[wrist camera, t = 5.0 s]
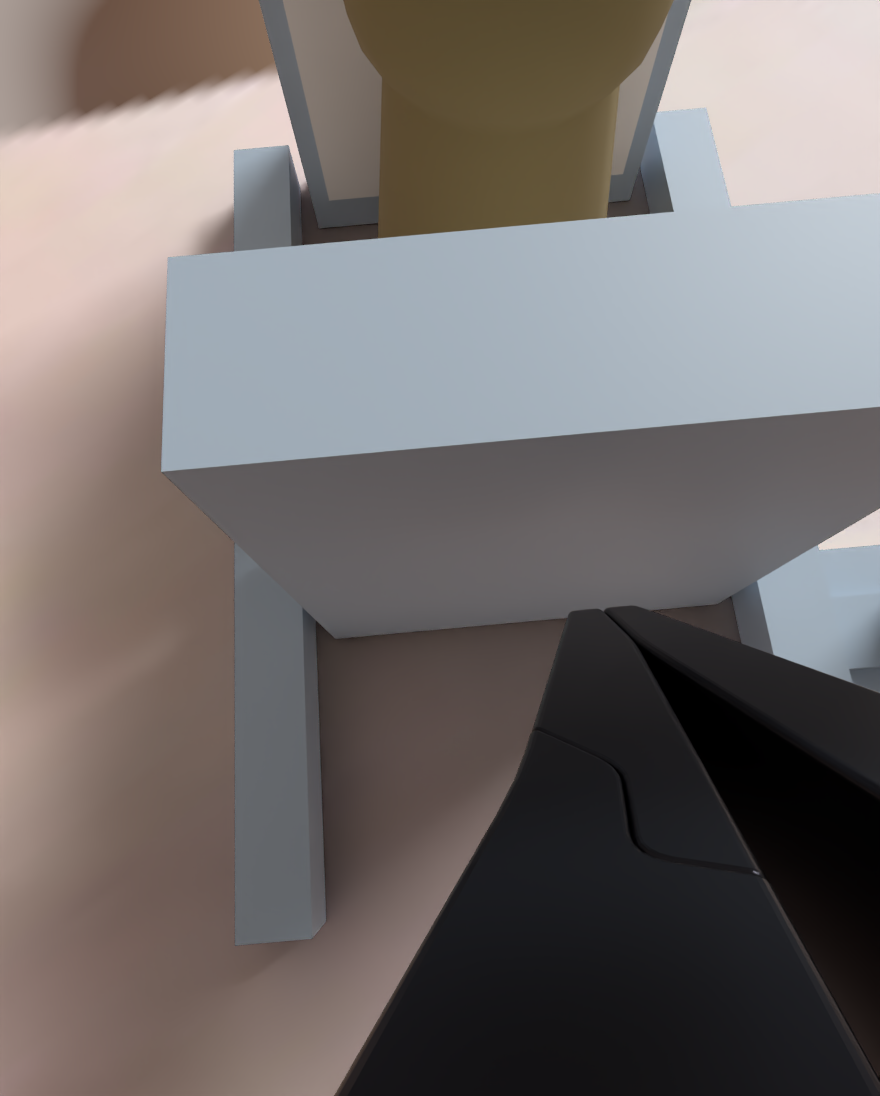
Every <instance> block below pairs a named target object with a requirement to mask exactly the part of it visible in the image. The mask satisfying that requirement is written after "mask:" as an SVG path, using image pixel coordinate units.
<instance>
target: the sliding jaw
mask: <svg viewBox="0 0 880 1096" xmlns="http://www.w3.org/2000/svg"><path fill="white" fill-rule="evenodd" d="M161 472H162V473H163V474H164V475H165V476H166V477H167V478H168V479H169V480H170V481H171V482H172V483H173V484H174V485H176V486H177V487H178V488H179V489H180V490H181V491H182V492H183V493H184V494H185V495H186V496H187V497H188V498H189V499H190V500H191V501H192V502H193V503H194V504H195V505H196V506H197V507H198V508H199V509H201V510H202V511H203V512H204V513H205V514H206V515H207V516H208V517H209V518H210V519H211V520H212V521H213V522H214V523H215V524H216V525H217V526H218V527H219V528H220V529H221V530H222V531H223V532H224V533H226V534H227V535H228V536H229V537H230V538H231V539H232V540H233V541H234V542H235V543H236V544H237V545H238V546H239V547H240V548H241V549H242V550H243V551H244V552H245V553H246V554H247V555H248V556H249V557H251V558H252V559H253V560H254V561H255V562H256V563H257V564H258V565H259V566H260V567H261V568H262V569H263V570H264V571H265V572H266V573H267V574H268V575H269V576H270V577H271V578H272V579H273V580H275V581H276V582H277V583H278V584H279V585H280V586H281V587H282V588H283V589H284V590H285V591H286V592H287V593H288V594H289V595H290V596H291V597H292V598H293V599H294V600H295V601H296V602H297V603H298V604H300V605H301V606H302V607H303V608H304V609H305V610H306V611H307V612H308V613H309V614H310V615H311V616H312V617H313V618H314V619H315V620H316V621H317V622H318V623H319V624H320V625H321V626H322V627H323V628H325V629H326V630H327V631H328V632H329V633H330V634H331V635H332V636H333V637H334V638H335V639H339V638H350V637H361V636H372V635H383V634H394V633H406V632H417V631H428V630H439V629H450V628H461V627H472V626H483V625H494V624H505V623H516V622H527V621H538V620H549V619H560V618H567V617H568V614H569V613H570V612H571V611H574V610H585V609H596V608H597V609H600V610H602V611H604V610H605V609H606V608H609V607H618V606H629V605H633V606H638V607H641V608H644V609H647V610H660V609H671V608H682V607H693V606H704V605H715V604H718V603H720V602H722V601H724V600H725V599H727V598H729V597H730V596H732V595H734V594H735V593H737V592H739V591H740V590H742V589H744V588H746V587H747V586H749V585H751V584H752V583H754V582H756V581H757V580H759V579H761V578H762V577H764V576H766V575H768V574H769V573H771V572H773V571H774V570H776V569H778V568H779V567H781V566H783V565H784V564H786V563H788V562H790V561H791V560H793V559H795V558H796V557H798V556H800V555H801V554H803V553H805V552H806V551H808V550H810V549H812V548H813V547H815V546H817V545H818V544H820V543H822V542H823V541H825V540H827V539H828V538H830V537H832V536H834V535H835V534H837V533H839V532H840V531H842V530H844V529H845V528H847V527H849V526H850V525H852V524H854V523H856V522H857V521H859V520H861V519H862V518H864V517H866V516H867V515H869V514H871V513H872V512H874V511H876V510H878V509H879V508H880V193H877V194H866V195H854V196H843V197H832V198H821V199H810V200H799V201H788V202H777V203H766V204H755V205H744V206H732V207H721V208H710V209H699V210H688V211H677V212H666V213H655V214H644V215H633V216H622V217H611V218H599V219H588V220H577V221H566V222H555V223H544V224H533V225H522V226H511V227H500V228H489V229H478V230H466V231H455V232H444V233H433V234H422V235H411V236H400V237H389V238H378V239H367V240H356V241H344V242H333V243H322V244H311V245H300V246H289V247H278V248H267V249H256V250H245V251H234V252H223V253H211V254H200V255H189V256H178V257H168V269H167V301H166V333H165V364H164V396H163V428H162V459H161Z"/></svg>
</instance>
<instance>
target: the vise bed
mask: <svg viewBox="0 0 880 1096" xmlns="http://www.w3.org/2000/svg"><path fill="white" fill-rule="evenodd" d="M690 2H691V0H674V1H673V3H672V6H671V8H670V10H669V12H668V14H667V17H666V19H665V21H664V23H663V25H662V27H661V29H660V31H659V33H658V35H657V37H656V38H655V40H654V42H653V44H652V46H651V47H650V49H649V51H648V53H647V55H646V56H645V58H644V60H643V62H642V64H641V65H640V66H639V67H638V68H637V69H636V70H635V71H634V72H632V73H631V74H630V75H629V76H628V77H627V78H626V79H625V80H624V81H623V82H622V83H621V84H620V89H619V99H618V109H617V119H616V129H615V139H614V149H613V159H612V170H611V180H610V190H609V200H608V202H617V201H628V200H630V197H631V194H632V191H633V188H634V184H635V181H636V178H637V175H638V171H639V168H640V169H641V174H642V178H643V183H644V188H645V192H646V197H647V202H648V206H649V211H650V214H655V213H666V212H677V211H688V210H699V209H710V208H721V207H731V203H730V199H729V196H728V192H727V188H726V184H725V180H724V176H723V172H722V168H721V164H720V160H719V156H718V152H717V149H716V145H715V141H714V137H713V133H712V129H711V125H710V121H709V117H708V113H707V109H706V108H697V109H686V110H675V111H664V112H657V110H658V106H659V103H660V100H661V97H662V93H663V90H664V87H665V84H666V80H667V77H668V74H669V71H670V67H671V64H672V61H673V58H674V54H675V51H676V48H677V45H678V41H679V38H680V35H681V32H682V28H683V25H684V22H685V19H686V15H687V12H688V9H689V6H690ZM259 3H260V6H261V10H262V14H263V18H264V21H265V25H266V29H267V33H268V37H269V41H270V44H271V48H272V52H273V55H274V60H275V63H276V67H277V71H278V75H279V78H280V82H281V86H282V90H283V94H284V97H285V101H286V105H287V109H288V113H289V116H290V120H291V124H292V128H293V132H294V135H295V139H296V143H297V147H298V151H299V154H300V158H301V162H302V166H303V169H304V173H305V177H306V181H307V185H308V188H309V192H310V196H311V200H312V204H313V207H314V211H315V215H316V219H317V223H318V226H319V228H329V227H340V226H351V225H362V224H373V223H378V218H379V178H380V138H381V98H382V77H381V76H380V74H379V73H378V72H377V70H376V69H375V68H374V66H373V65H372V64H371V62H370V61H369V60H368V58H367V57H366V56H365V54H364V53H363V52H362V50H361V48H360V45H359V43H358V40H357V38H356V36H355V33H354V31H353V28H352V26H351V23H350V21H349V18H348V16H347V13H346V9H345V5H344V1H343V0H259ZM300 245H302V222H301V194H300V185H299V182H298V178H297V174H296V171H295V167H294V164H293V160H292V156H291V153H290V149H289V146H288V145H286V146H275V147H264V148H253V149H242V150H234V251H245V250H256V249H267V248H278V247H289V246H300ZM732 601H733V606H734V610H735V615H736V620H737V625H738V629H739V634H740V639H741V643H742V644H745V645H748V646H750V647H753V648H756V649H759V650H762V651H765V652H767V653H770V654H773V655H776V656H779V657H781V658H784V659H787V660H790V661H793V662H795V663H798V664H801V665H804V666H807V667H809V668H812V669H815V670H818V671H821V672H823V673H826V674H829V675H832V676H835V677H837V678H840V679H843V680H846V681H849V682H851V683H854V684H857V685H860V686H863V687H865V688H868V689H871V690H874V691H877V692H879V693H880V545H873V546H862V547H851V548H840V549H829V550H819V548H818V545H817V546H815V547H813V548H812V549H810V550H808V551H806V552H805V553H803V554H801V555H800V556H798V557H796V558H795V559H793V560H791V561H790V562H788V563H786V564H784V565H783V566H781V567H779V568H778V569H776V570H774V571H773V572H771V573H769V574H768V575H766V576H764V577H762V578H761V579H759V580H757V581H756V582H754V583H752V584H751V585H749V586H747V587H746V588H744V589H742V590H740V591H739V592H737V593H735V594H734V595H732ZM234 612H235V946H238V945H249V944H260V943H271V942H282V941H293V940H304V939H312V938H313V937H314V936H315V935H316V933H317V932H318V931H319V930H320V928H321V927H322V926H323V925H324V923H325V922H326V898H325V870H324V842H323V814H322V785H321V757H320V729H319V701H318V673H317V645H316V620H315V619H314V618H313V617H312V616H311V615H310V614H309V613H308V612H307V611H306V610H305V609H304V608H303V607H302V606H301V605H300V604H298V603H297V602H296V601H295V600H294V599H293V598H292V597H291V596H290V595H289V594H288V593H287V592H286V591H285V590H284V589H283V588H282V587H281V586H280V585H279V584H278V583H277V582H276V581H275V580H273V579H272V578H271V577H270V576H269V575H268V574H267V573H266V572H265V571H264V570H263V569H262V568H261V567H260V566H259V565H258V564H257V563H256V562H255V561H254V560H253V559H252V558H251V557H249V556H248V555H247V554H246V553H245V552H244V551H243V550H242V549H241V548H240V547H239V546H238V545H237V544H236V543H235V542H234Z"/></svg>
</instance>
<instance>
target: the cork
mask: <svg viewBox="0 0 880 1096" xmlns="http://www.w3.org/2000/svg"><path fill="white" fill-rule="evenodd" d="M343 1H344V5H345V9H346V13H347V16H348V18H349V21H350V23H351V26H352V28H353V31H354V33H355V36H356V38H357V40H358V43H359V45H360V48H361V50H362V52H363V53H364V54H365V56H366V57H367V58H368V60H369V61H370V62H371V64H372V65H373V66H374V68H375V69H376V70H377V72H378V73H379V74H380V76H381V77H382V98H381V138H380V178H379V218H378V238H389V237H400V236H411V235H422V234H433V233H444V232H455V231H466V230H478V229H489V228H500V227H511V226H522V225H533V224H544V223H555V222H566V221H577V220H588V219H599V218H607V210H608V200H609V190H610V180H611V170H612V159H613V149H614V139H615V129H616V119H617V109H618V99H619V89H620V84H621V83H622V82H623V81H624V80H625V79H626V78H627V77H628V76H629V75H630V74H631V73H632V72H634V71H635V70H636V69H637V68H638V67H639V66H640V65H641V64H642V62H643V60H644V58H645V56H646V55H647V53H648V51H649V49H650V47H651V46H652V44H653V42H654V40H655V38H656V37H657V35H658V33H659V31H660V29H661V27H662V25H663V23H664V21H665V19H666V17H667V14H668V12H669V10H670V8H671V6H672V3H673V1H674V0H343Z"/></svg>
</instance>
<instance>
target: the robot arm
mask: <svg viewBox="0 0 880 1096" xmlns="http://www.w3.org/2000/svg"><path fill="white" fill-rule="evenodd" d="M334 1096H880V693H879V692H877V691H874V690H871V689H868V688H865V687H863V686H860V685H857V684H854V683H851V682H849V681H846V680H843V679H840V678H837V677H835V676H832V675H829V674H826V673H823V672H821V671H818V670H815V669H812V668H809V667H807V666H804V665H801V664H798V663H795V662H793V661H790V660H787V659H784V658H781V657H779V656H776V655H773V654H770V653H767V652H765V651H762V650H759V649H756V648H753V647H750V646H748V645H745V644H742V643H739V642H736V641H734V640H731V639H728V638H725V637H722V636H720V635H717V634H714V633H711V632H708V631H706V630H703V629H700V628H697V627H694V626H692V625H689V624H686V623H683V622H680V621H678V620H675V619H672V618H669V617H666V616H664V615H661V614H658V613H655V612H652V611H650V610H647V609H644V608H641V607H638V606H633V605H629V606H618V607H609V608H606V609H605V610H604V611H602V610H600V609H597V608H596V609H585V610H574V611H571V612H570V613H569V614H568V617H567V620H566V623H565V627H564V630H563V633H562V636H561V640H560V643H559V646H558V649H557V652H556V656H555V659H554V662H553V665H552V669H551V672H550V675H549V678H548V681H547V685H546V688H545V691H544V694H543V698H542V701H541V704H540V707H539V711H538V714H537V717H536V720H535V723H534V727H533V730H532V733H531V734H530V737H529V740H528V743H527V746H526V750H525V753H524V755H523V758H522V760H521V763H520V766H519V768H518V771H517V773H516V776H515V779H514V781H513V783H512V785H511V787H510V789H509V791H508V793H507V795H506V797H505V799H504V801H503V803H502V805H501V807H500V809H499V810H498V812H497V814H496V816H495V818H494V820H493V821H492V823H491V825H490V826H489V828H488V830H487V832H486V833H485V835H484V837H483V839H482V840H481V842H480V844H479V846H478V847H477V849H476V851H475V852H474V854H473V856H472V858H471V859H470V861H469V863H468V865H467V866H466V868H465V870H464V872H463V873H462V875H461V877H460V879H459V880H458V882H457V884H456V885H455V887H454V889H453V891H452V892H451V894H450V896H449V898H448V899H447V901H446V903H445V905H444V906H443V908H442V910H441V911H440V913H439V915H438V917H437V918H436V920H435V922H434V924H433V925H432V927H431V929H430V931H429V932H428V934H427V936H426V937H425V939H424V941H423V943H422V944H421V946H420V948H419V950H418V951H417V953H416V955H415V957H414V958H413V960H412V962H411V964H410V965H409V967H408V969H407V970H406V972H405V974H404V976H403V977H402V979H401V981H400V983H399V984H398V986H397V988H396V990H395V991H394V993H393V995H392V996H391V998H390V1000H389V1002H388V1003H387V1005H386V1007H385V1009H384V1010H383V1012H382V1014H381V1016H380V1017H379V1019H378V1021H377V1022H376V1024H375V1026H374V1028H373V1029H372V1031H371V1033H370V1035H369V1036H368V1038H367V1040H366V1042H365V1043H364V1045H363V1047H362V1049H361V1050H360V1052H359V1054H358V1055H357V1057H356V1059H355V1061H354V1062H353V1064H352V1066H351V1068H350V1069H349V1071H348V1073H347V1075H346V1076H345V1078H344V1080H343V1081H342V1083H341V1085H340V1087H339V1088H338V1090H337V1092H336V1094H335V1095H334Z"/></svg>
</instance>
